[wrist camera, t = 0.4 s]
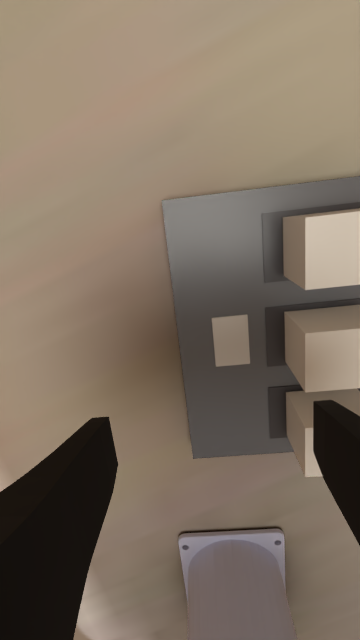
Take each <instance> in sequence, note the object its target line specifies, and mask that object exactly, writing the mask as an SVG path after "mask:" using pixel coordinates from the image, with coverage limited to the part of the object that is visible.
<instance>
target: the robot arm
mask: <svg viewBox="0 0 360 640" xmlns="http://www.w3.org/2000/svg"><path fill="white" fill-rule="evenodd" d="M313 452H314V455H315V458H316V460H317V463H318V466H319V468H320V471H321V473H322V476H323V478H324V480H325V482H326V484H327V486H328V488H329V490H330V492H331V493H332V495H333V497H334V499H335V501H336V503H337V505H338V506H339V508H340V510H341V512H342V514H343V516H344V517H345V519H346V521H347V523H348V525H349V527H350V528H351V530H352V532H353V534H354V536H355V538H356V540H357V541H358V543H359V545H360V416H359V415H357V414H355V413H354V412H352V411H350V410H349V409H347V408H345V407H344V406H342V405H340V404H339V403H337V402H335V401H333V400H321V401H313ZM117 467H118V462H117V457H116V451H115V446H114V441H113V436H112V431H111V426H110V421H109V417H99V418H92V419H90V420H89V421H88V422H86V423H85V424H84V425H83V426H82V427H81V428H80V429H78V430H77V431H76V432H75V433H74V434H73V435H72V436H71V437H70V438H68V439H67V440H66V441H65V442H64V443H63V444H62V445H60V446H59V447H58V448H57V449H56V450H55V451H54V452H52V453H51V454H50V455H49V456H48V457H46V458H45V459H44V460H43V461H41V462H40V463H39V464H38V465H36V466H35V467H34V468H33V469H31V470H30V471H29V472H28V473H26V474H25V475H24V476H22V477H21V478H20V479H18V480H17V481H16V482H14V483H13V484H11V485H10V486H8V487H7V488H5V489H4V490H3V491H1V492H0V640H73V637H74V633H75V628H76V623H77V618H78V613H79V609H80V604H81V600H82V595H83V591H84V586H85V582H86V578H87V573H88V570H89V566H90V563H91V559H92V556H93V553H94V550H95V546H96V543H97V540H98V537H99V534H100V531H101V528H102V525H103V522H104V519H105V516H106V512H107V509H108V506H109V503H110V500H111V496H112V493H113V489H114V484H115V479H116V473H117ZM178 544H179V550H180V557H181V564H182V570H183V577H184V583H185V590H186V596H187V603H188V636H187V640H297V636H296V632H295V628H294V624H293V620H292V616H291V612H290V608H289V604H288V600H287V595H286V586H285V544H284V534H283V531H282V530H280V529H259V530H240V531H221V532H202V533H184V534H181V535H180V536H179V538H178Z"/></svg>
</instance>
